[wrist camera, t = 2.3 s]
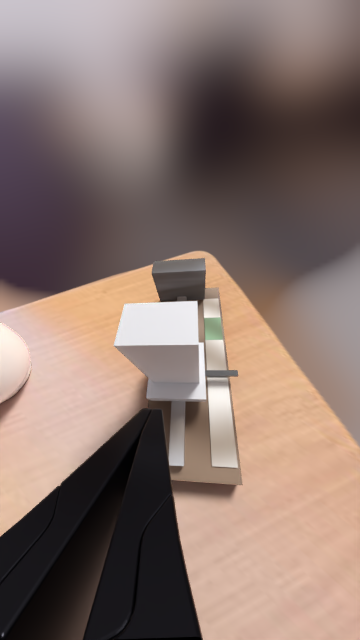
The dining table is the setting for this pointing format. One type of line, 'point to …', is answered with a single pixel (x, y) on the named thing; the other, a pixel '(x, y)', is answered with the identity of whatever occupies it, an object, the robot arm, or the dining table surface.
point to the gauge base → (217, 412)
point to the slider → (166, 349)
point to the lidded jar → (12, 362)
